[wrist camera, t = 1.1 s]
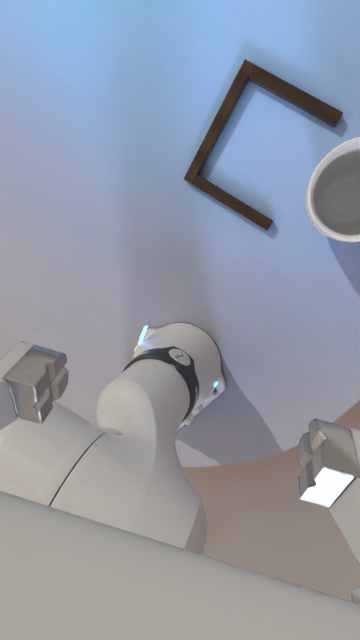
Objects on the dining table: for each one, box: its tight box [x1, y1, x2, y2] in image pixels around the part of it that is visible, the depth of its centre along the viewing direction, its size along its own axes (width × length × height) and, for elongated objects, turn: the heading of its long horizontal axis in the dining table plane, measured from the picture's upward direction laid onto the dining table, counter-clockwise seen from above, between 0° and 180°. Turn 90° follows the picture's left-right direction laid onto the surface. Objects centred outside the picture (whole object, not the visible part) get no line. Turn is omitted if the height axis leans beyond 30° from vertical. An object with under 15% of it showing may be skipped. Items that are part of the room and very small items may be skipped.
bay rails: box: [184, 60, 343, 230], centre depth 49 cm, size 18×16×1 cm
